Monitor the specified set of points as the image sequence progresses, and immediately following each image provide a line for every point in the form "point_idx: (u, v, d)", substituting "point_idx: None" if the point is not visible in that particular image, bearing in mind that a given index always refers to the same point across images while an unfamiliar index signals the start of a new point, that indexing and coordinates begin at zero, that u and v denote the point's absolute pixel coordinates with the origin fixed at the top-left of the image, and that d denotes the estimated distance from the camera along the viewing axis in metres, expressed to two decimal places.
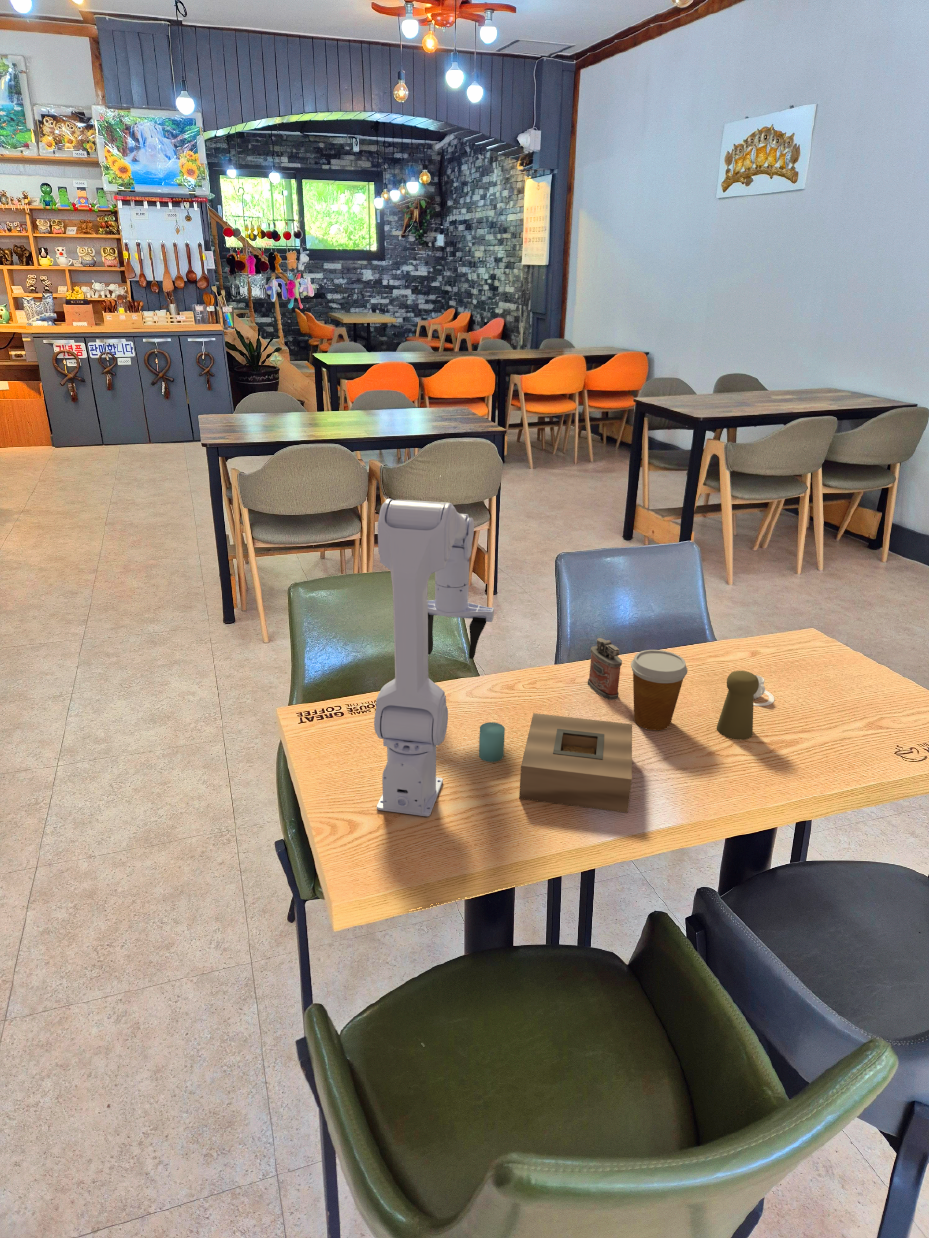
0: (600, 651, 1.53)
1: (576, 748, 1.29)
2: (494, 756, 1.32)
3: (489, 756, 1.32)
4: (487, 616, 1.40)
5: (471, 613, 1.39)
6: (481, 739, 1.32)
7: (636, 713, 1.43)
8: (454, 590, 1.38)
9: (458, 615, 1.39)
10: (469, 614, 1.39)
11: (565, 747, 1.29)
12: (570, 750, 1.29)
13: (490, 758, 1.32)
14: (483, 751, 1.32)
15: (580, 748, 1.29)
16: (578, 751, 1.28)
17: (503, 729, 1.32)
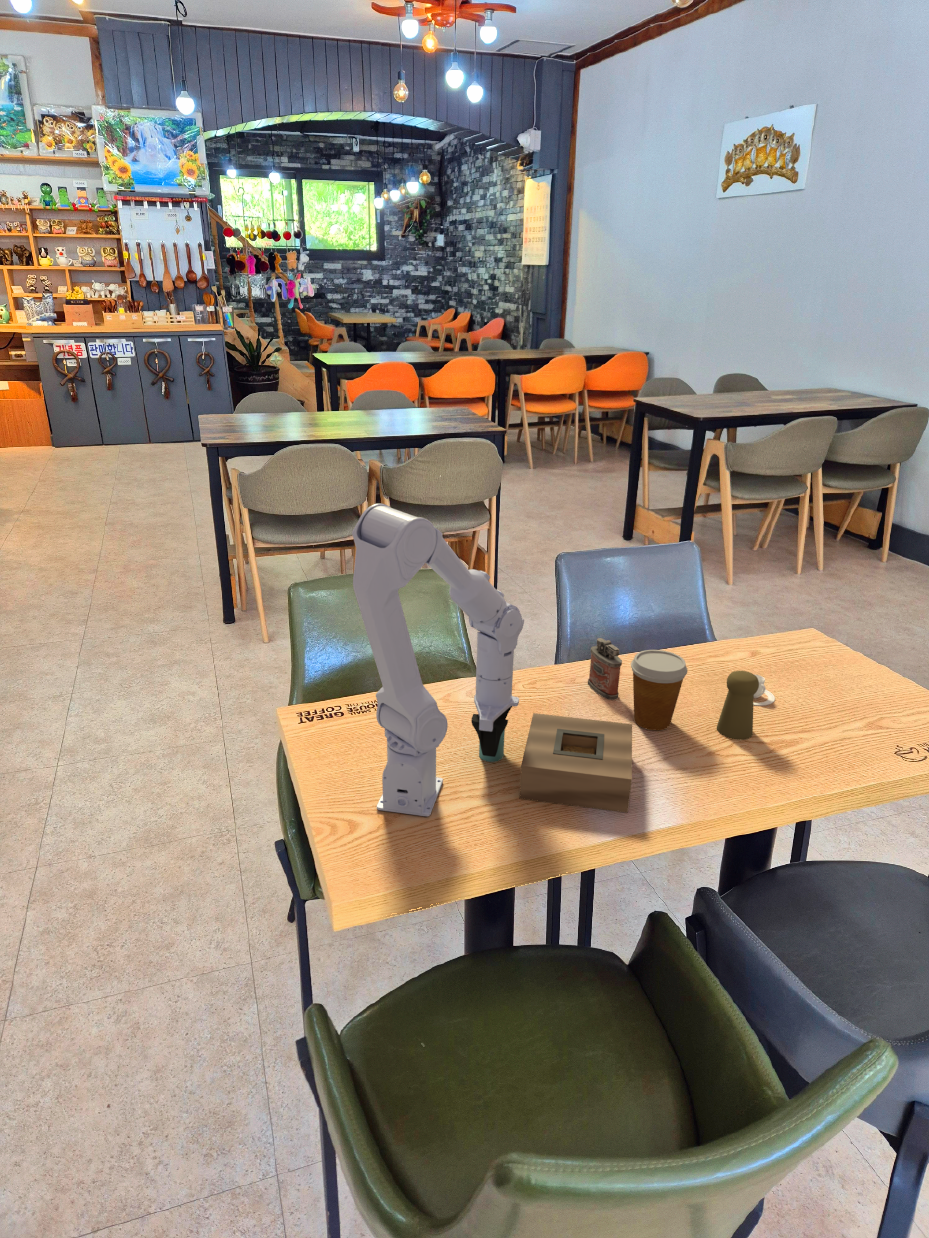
0: (600, 651, 1.53)
1: (576, 748, 1.29)
2: None
3: (489, 756, 1.32)
4: None
5: (477, 709, 1.27)
6: None
7: (636, 713, 1.43)
8: (476, 676, 1.28)
9: (475, 703, 1.29)
10: (477, 709, 1.27)
11: (565, 747, 1.29)
12: (570, 750, 1.29)
13: (490, 758, 1.32)
14: None
15: (580, 748, 1.29)
16: (578, 751, 1.28)
17: None
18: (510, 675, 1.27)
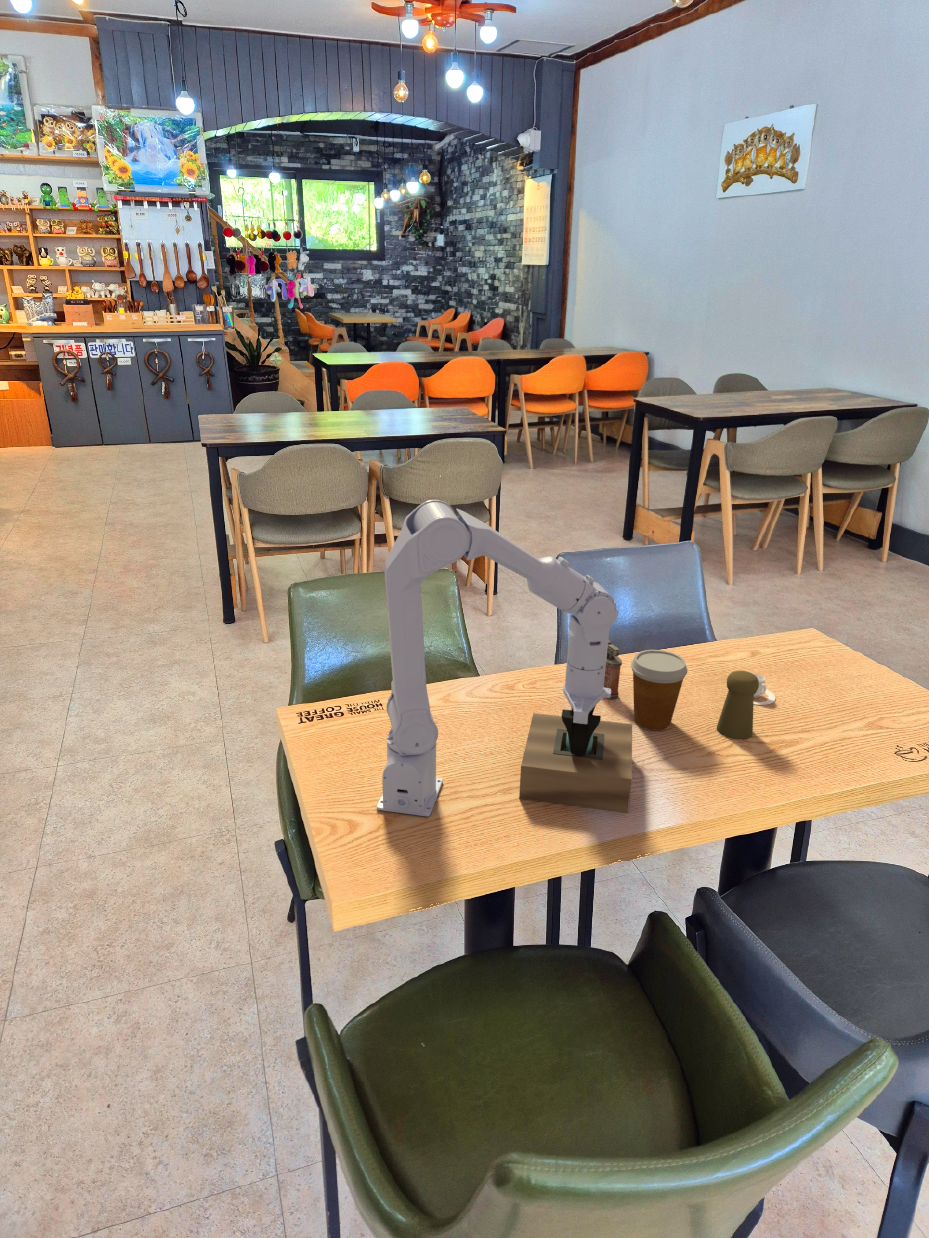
0: None
1: None
2: None
3: None
4: None
5: (569, 700, 1.20)
6: None
7: (636, 713, 1.43)
8: (567, 665, 1.21)
9: (565, 695, 1.22)
10: (568, 700, 1.20)
11: (565, 749, 1.30)
12: None
13: None
14: None
15: None
16: None
17: None
18: (598, 668, 1.19)
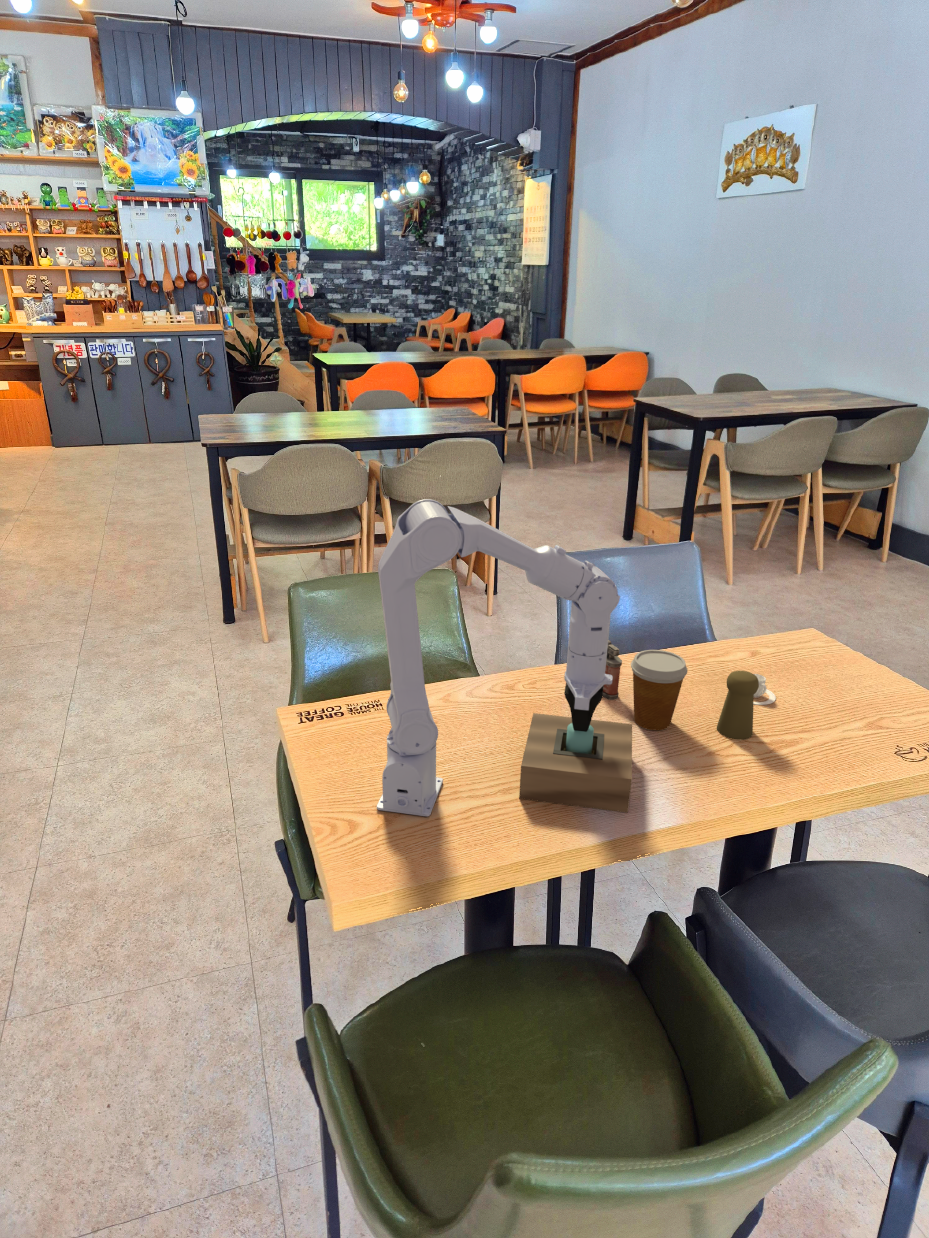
0: None
1: None
2: None
3: None
4: None
5: (570, 687, 1.19)
6: (569, 740, 1.25)
7: (636, 713, 1.43)
8: (568, 652, 1.20)
9: (566, 681, 1.21)
10: (570, 687, 1.19)
11: (565, 749, 1.30)
12: None
13: None
14: None
15: None
16: None
17: (592, 729, 1.26)
18: (599, 653, 1.18)
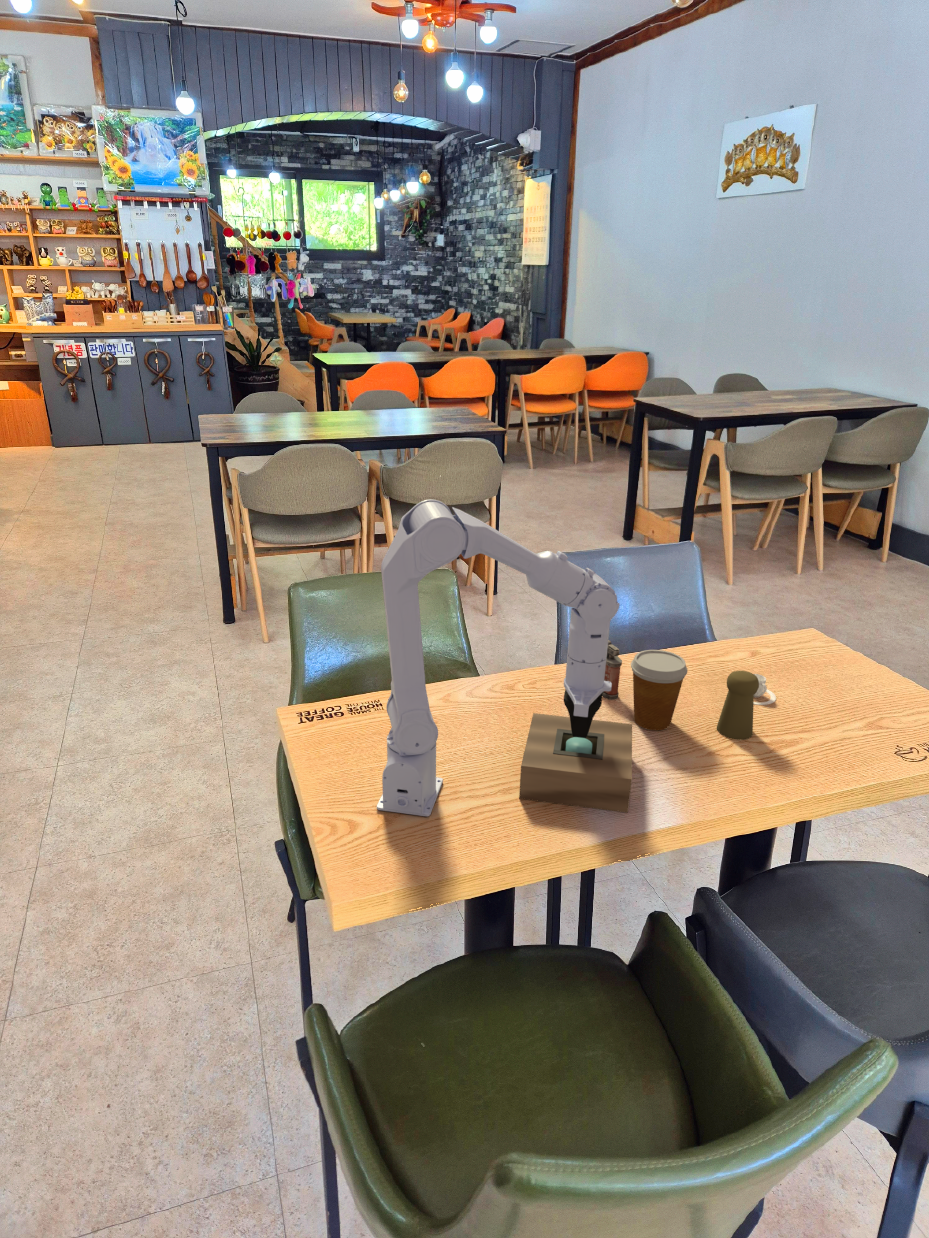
0: None
1: None
2: None
3: None
4: None
5: (570, 693, 1.19)
6: None
7: (636, 713, 1.43)
8: (568, 658, 1.21)
9: (565, 688, 1.22)
10: (569, 693, 1.20)
11: None
12: None
13: None
14: None
15: None
16: None
17: (591, 744, 1.27)
18: (598, 660, 1.18)
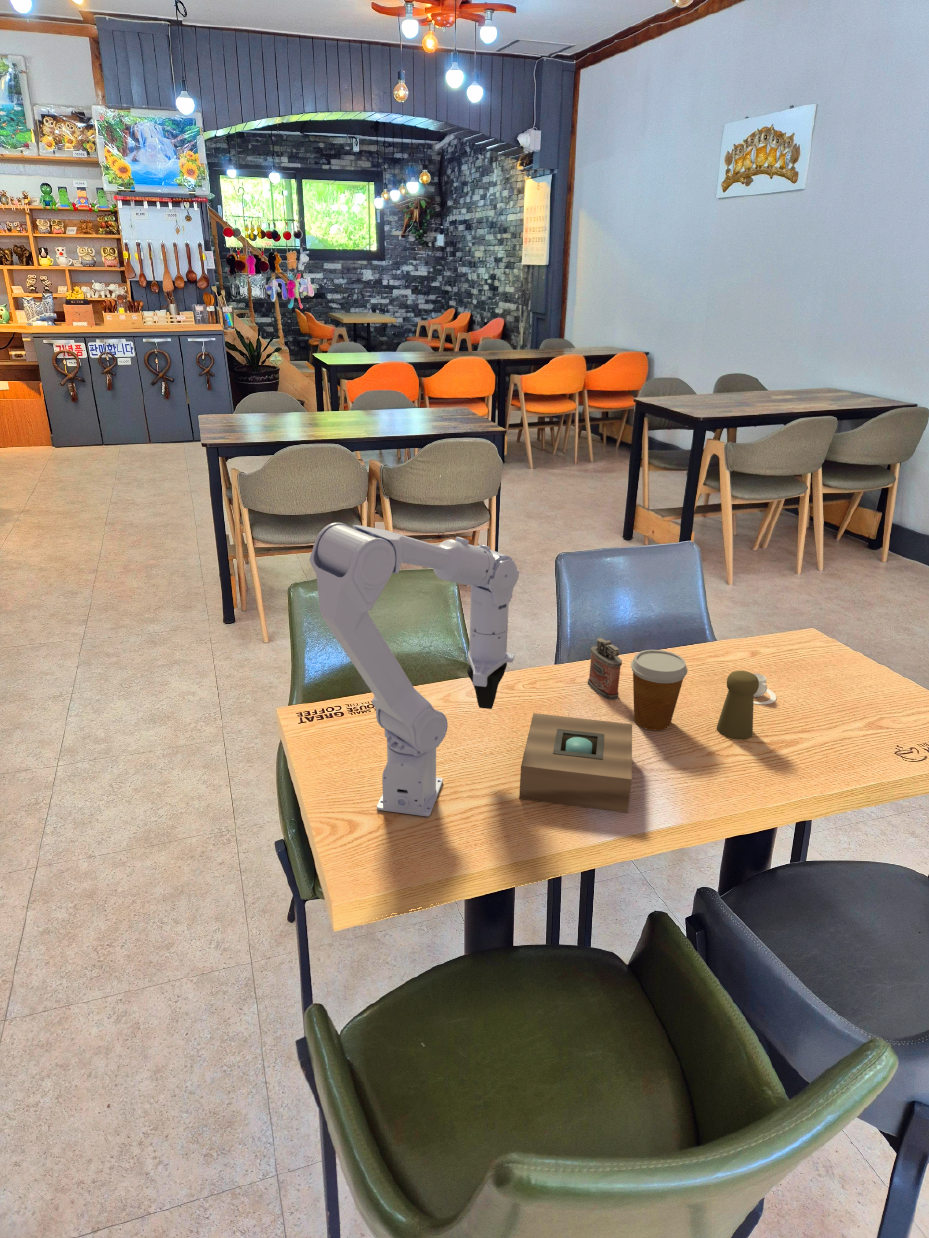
0: (600, 651, 1.53)
1: None
2: None
3: None
4: None
5: (471, 664, 1.23)
6: None
7: (636, 713, 1.43)
8: (470, 631, 1.24)
9: (469, 659, 1.25)
10: (471, 664, 1.23)
11: None
12: None
13: None
14: None
15: None
16: None
17: (591, 744, 1.27)
18: (505, 629, 1.23)
